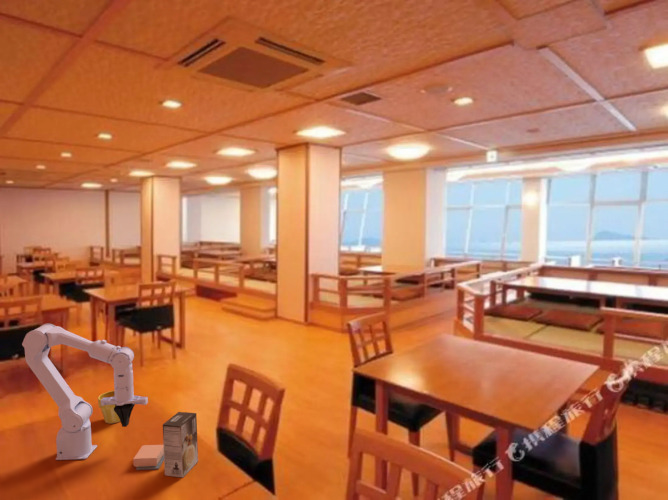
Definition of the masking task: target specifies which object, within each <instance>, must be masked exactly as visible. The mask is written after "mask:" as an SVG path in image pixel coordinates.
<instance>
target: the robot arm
mask: <svg viewBox="0 0 668 500" xmlns="http://www.w3.org/2000/svg"><path fill="white" fill-rule="evenodd" d="M107 341H108V340H107V339H106V340H105V339H102V340H101V339H98V340H95V341H92V340H89V339H88V338H85V337H83V336H81V335H78V334H75V333H73V332H71V331H68V330H66V329H64V328H63V327H61V326H60V325H59V326H58V325H57V326H56V325H55V324H52V323H44V324H42V325H41V326H39V327H37V328H35V329H34V330H30V331H28V332H27V333H26V334H25V336H24V338H23V341H22V343H21V345H22V347H23V348H24V355H25V356H24V357H25V362H26V364H27V366H28V367H29V368H30V370H31V371H32V372H33V374H34V375H35V376H36V378H37V380H39V382H40V384H42V386H43V387H44V388H45V390H46V392H47V393H48V395H50V397H51V399H52V400H53V401H54V402H55V404H56V405H57V407H58V412H57V415H58V417H59V419H60V421H61V428H59V430H58V432H57V435H56V440H55V441H56V442H55V443H56V457H55V461H62V460H63V461H65V460H67V461H68V460H86V459H88V458H89V457H90V456H91V454H92V453H93V452H94V451H95V449H97V447H98V444H92V441H93V440H92V427H91V426H92V425H91V423H92V422H91V421H90V418H91V416H92V415H93V413H94V411H93V406H92V405H91V404H90V403H89V402H87V401H85V400H84V399H83V397H81V396H78V395H75V393H74V392H73V390H72V389H71V387H70V386H69V385H68V383H67V382H66V380H65V379H64V378H63V376H62V375H61V373H60V372H59V370H58V369H57V368H56V366H55V365H54V363H53V362H52V360H50V358H49V356H48V355H49V352H50V349H51V348H52V347H55V346H59V345H64V346H67V347H71V348H74V349H78V350H81V351H84V352H87V354H88V356H89V357H90V358H92V359H95V360H98V361H100V362H101V361H102V362H104V363H106V364H110V367H112V368H113V388H114V390H113V391H114V392H115V397H107V398H103V399H101V406H104V405H115V408H114V411H115V412H116V414H117V415H118V417H119V419H120V424H121V427H123V428H124V427H127V426H128V425H129V424H130V419H131V415H132V413H133V410H134V407H135V405H143V406H146V405H147V404H149V400H148V399H149V398H148V397H149V396H140V395H135V392H134V389H135V387H134V371H133V360H134V359H135V353H134V351H133V350H132V349H131V348H130V347H128V346H122V347H121V346H120V345H117V346H116V345H113V344H111V343H108V342H107Z"/></svg>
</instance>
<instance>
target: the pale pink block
mask: <svg viewBox="0 0 668 500" xmlns="http://www.w3.org/2000/svg"><path fill="white" fill-rule="evenodd" d="M163 454H164V445H163V444H145V445H144V444H143V445H141V447H140V449H139V450H138V451H137V453H136V454H135V456H134V457H133V459H132V460H133V467H135V468H137V467H141V466H157V464H158V463H159V461H160V459H161V458H162V456H163Z"/></svg>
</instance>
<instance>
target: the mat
mask: <svg viewBox="0 0 668 500" xmlns="http://www.w3.org/2000/svg"><path fill="white" fill-rule="evenodd" d="M162 464H164V454H163V456H162V458H161V459H160V461H159V463H158V464H157V466H141V467H135V470H136V471H145V470H146V471H150V470H153V471H154V470H159V469H160V468H161V467H162Z"/></svg>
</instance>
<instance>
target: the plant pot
mask: <svg viewBox="0 0 668 500" xmlns="http://www.w3.org/2000/svg"><path fill="white" fill-rule="evenodd" d="M107 397H115V392H114V390H110V391H107V392H103V393H101V394H99V396H98V397H97V403H98V404H97V405H98V408H99V409H101V410H100V411H101V413H102V416H103V417H102V418H103V419H104V422H105V423H106V424H116V423H119V422H120V423H121V421H120V419H119V417H118V415H117V414H116V412H115V411H114V408H115V405H104V406H101V399H103V398H107Z"/></svg>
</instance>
